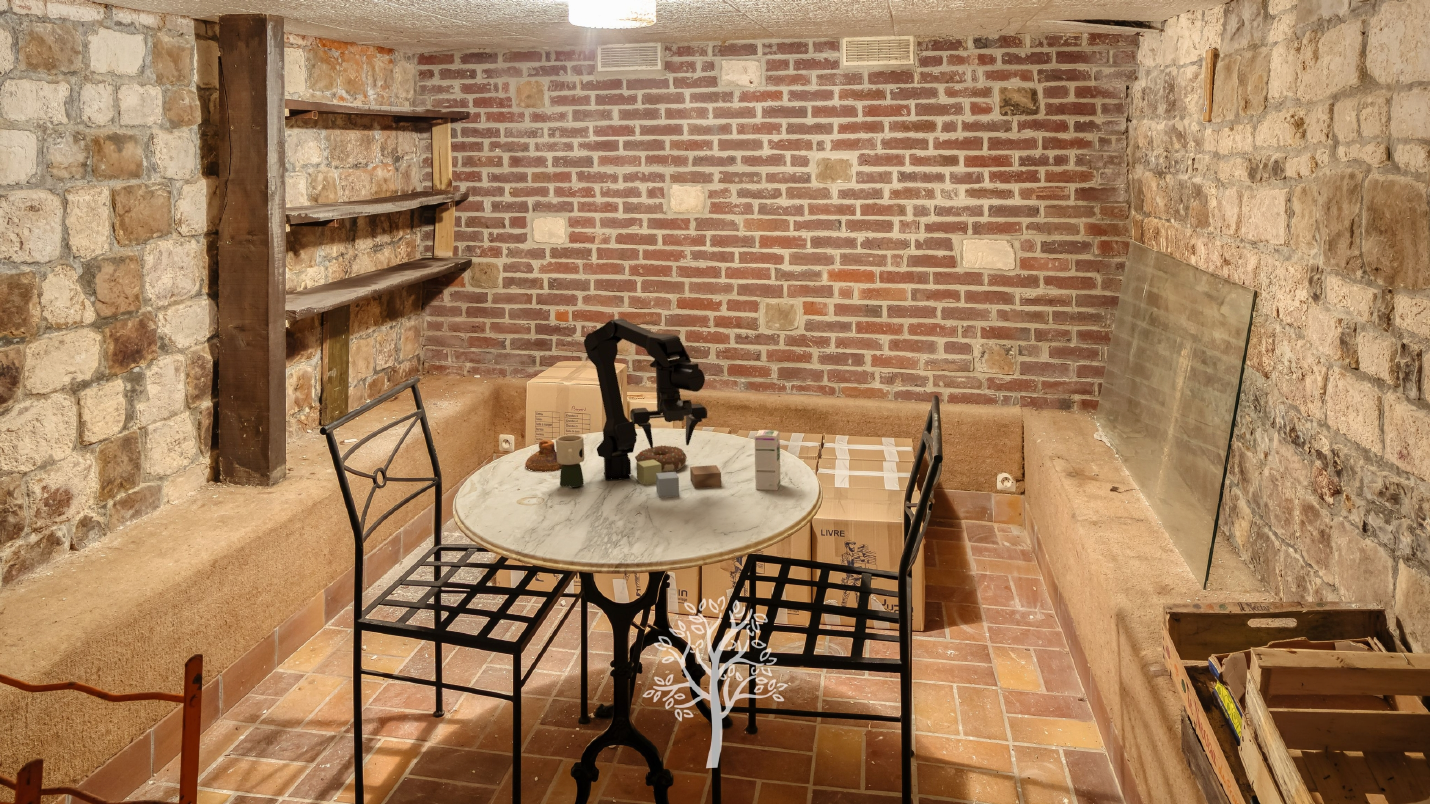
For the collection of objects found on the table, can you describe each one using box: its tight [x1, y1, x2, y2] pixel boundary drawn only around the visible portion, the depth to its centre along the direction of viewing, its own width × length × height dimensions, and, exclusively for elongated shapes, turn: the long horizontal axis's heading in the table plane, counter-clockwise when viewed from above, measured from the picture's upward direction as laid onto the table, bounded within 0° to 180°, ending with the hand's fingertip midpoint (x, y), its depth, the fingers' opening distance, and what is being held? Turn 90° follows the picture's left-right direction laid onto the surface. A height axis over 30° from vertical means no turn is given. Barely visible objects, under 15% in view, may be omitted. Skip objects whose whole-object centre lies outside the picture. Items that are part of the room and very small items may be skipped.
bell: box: [524, 440, 562, 473], centre depth 281 cm, size 12×12×7 cm
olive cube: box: [635, 460, 662, 486], centre depth 266 cm, size 5×5×5 cm
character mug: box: [555, 434, 585, 488], centre depth 262 cm, size 11×7×13 cm, turn 9°
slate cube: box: [655, 471, 680, 498], centre depth 256 cm, size 5×5×5 cm
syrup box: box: [754, 429, 781, 491], centre depth 259 cm, size 6×6×14 cm
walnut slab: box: [689, 464, 722, 489], centre depth 264 cm, size 7×7×4 cm
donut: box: [634, 444, 688, 473], centre depth 279 cm, size 14×14×5 cm
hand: (669, 446), depth 254 cm, fingers open, 9 cm apart
